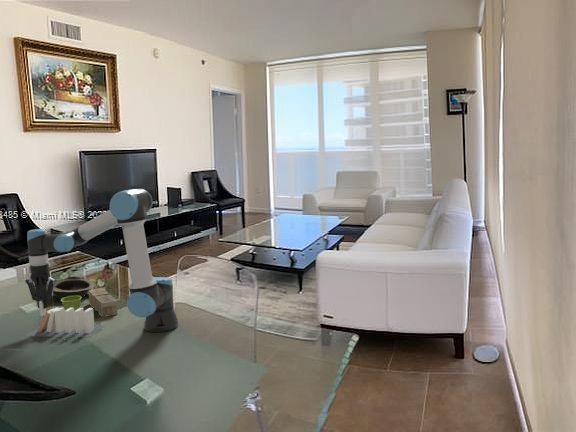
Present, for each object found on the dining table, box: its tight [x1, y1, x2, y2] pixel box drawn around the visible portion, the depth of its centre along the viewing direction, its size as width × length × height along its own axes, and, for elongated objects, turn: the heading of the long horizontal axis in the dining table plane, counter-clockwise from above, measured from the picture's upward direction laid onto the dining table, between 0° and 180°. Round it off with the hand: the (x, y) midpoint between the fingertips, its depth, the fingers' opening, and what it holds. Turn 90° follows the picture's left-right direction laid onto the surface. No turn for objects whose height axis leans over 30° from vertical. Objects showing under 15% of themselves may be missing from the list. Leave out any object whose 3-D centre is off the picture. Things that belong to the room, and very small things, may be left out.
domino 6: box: [84, 307, 95, 333], centre depth 212 cm, size 2×5×10 cm, turn 177°
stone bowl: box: [47, 276, 97, 300], centre depth 266 cm, size 25×25×9 cm
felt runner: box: [25, 324, 105, 338], centre depth 213 cm, size 30×14×1 cm, turn 87°
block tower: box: [88, 287, 119, 317], centre depth 243 cm, size 8×8×29 cm
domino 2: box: [46, 306, 60, 332], centre depth 213 cm, size 2×5×10 cm, turn 177°
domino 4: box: [64, 308, 75, 333], centre depth 212 cm, size 2×5×10 cm, turn 177°
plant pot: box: [60, 296, 83, 311], centre depth 234 cm, size 9×9×9 cm
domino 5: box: [74, 307, 85, 333], centre depth 212 cm, size 2×5×10 cm, turn 176°
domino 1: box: [37, 308, 54, 332], centre depth 213 cm, size 2×5×10 cm
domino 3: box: [54, 307, 66, 333], centre depth 212 cm, size 2×5×10 cm, turn 177°
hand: (43, 315), depth 213 cm, fingers closed
